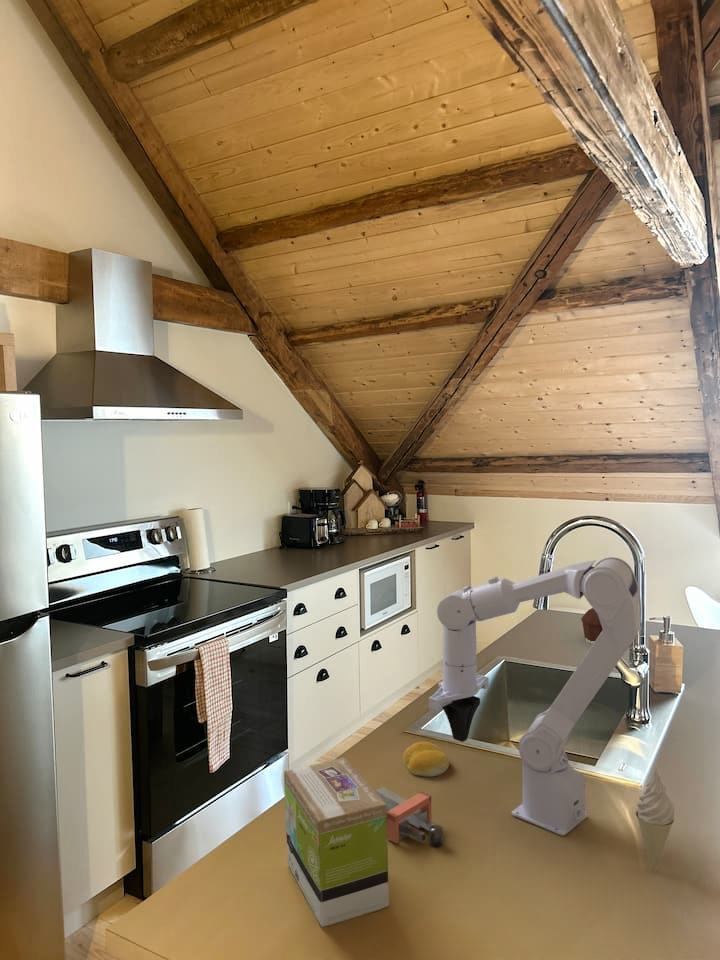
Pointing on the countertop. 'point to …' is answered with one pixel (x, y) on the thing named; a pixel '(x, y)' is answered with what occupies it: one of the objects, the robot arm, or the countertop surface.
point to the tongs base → (421, 833)
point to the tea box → (336, 840)
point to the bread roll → (425, 759)
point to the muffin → (591, 625)
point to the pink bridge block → (406, 813)
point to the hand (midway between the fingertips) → (460, 739)
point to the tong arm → (394, 800)
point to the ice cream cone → (655, 819)
